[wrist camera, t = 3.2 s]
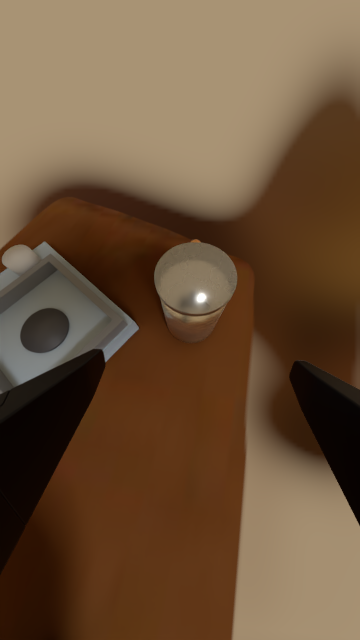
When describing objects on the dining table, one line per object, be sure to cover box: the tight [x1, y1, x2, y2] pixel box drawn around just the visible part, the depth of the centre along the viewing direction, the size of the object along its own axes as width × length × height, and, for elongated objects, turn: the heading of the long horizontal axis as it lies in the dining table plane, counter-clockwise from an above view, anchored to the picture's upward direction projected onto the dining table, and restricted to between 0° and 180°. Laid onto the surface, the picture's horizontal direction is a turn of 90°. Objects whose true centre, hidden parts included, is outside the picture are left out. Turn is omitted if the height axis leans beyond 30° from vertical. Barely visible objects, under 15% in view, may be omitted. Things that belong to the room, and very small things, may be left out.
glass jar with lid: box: [154, 239, 237, 343], centre depth 19 cm, size 8×6×10 cm
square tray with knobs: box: [0, 242, 139, 394], centre depth 21 cm, size 17×14×4 cm
